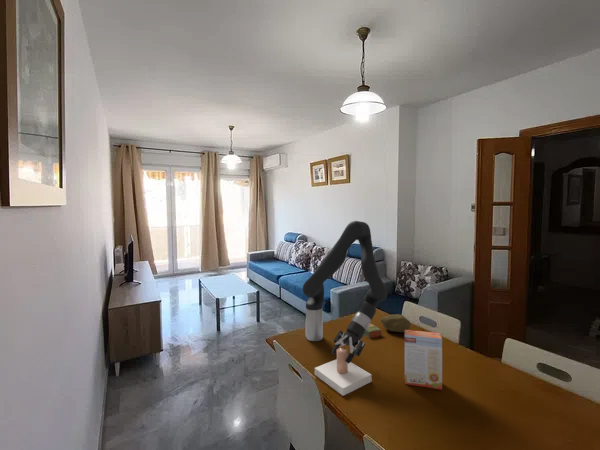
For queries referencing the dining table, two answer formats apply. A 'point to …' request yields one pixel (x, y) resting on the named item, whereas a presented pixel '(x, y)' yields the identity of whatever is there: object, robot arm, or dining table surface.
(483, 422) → the dining table surface
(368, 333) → the carton
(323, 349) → the dining table surface
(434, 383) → the cracker box
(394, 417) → the dining table surface
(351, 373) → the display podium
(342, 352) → the canister
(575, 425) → the dining table surface
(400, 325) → the decorative stone
